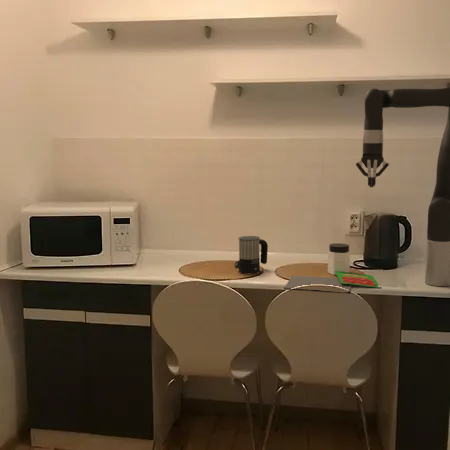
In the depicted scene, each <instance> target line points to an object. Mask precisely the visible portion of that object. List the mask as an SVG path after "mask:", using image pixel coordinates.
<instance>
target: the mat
mask: <svg viewBox="0 0 450 450" xmlns="http://www.w3.org/2000/svg"><path fill="white" fill-rule="evenodd" d="M311 284H325V285H333V286H339V287H342V288H345V289H348V290H350V291H351V288H352V285H351V284H343V283H341V282H340V280H339V278H338V277H325V276H324V277H323V276H309V275H304V276H303V275H292V276H290V279H288V281H287V283H286V284H285V286H284V287H283V289H284V290H291V288H294V287H297V286H302V285H311Z"/></svg>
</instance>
